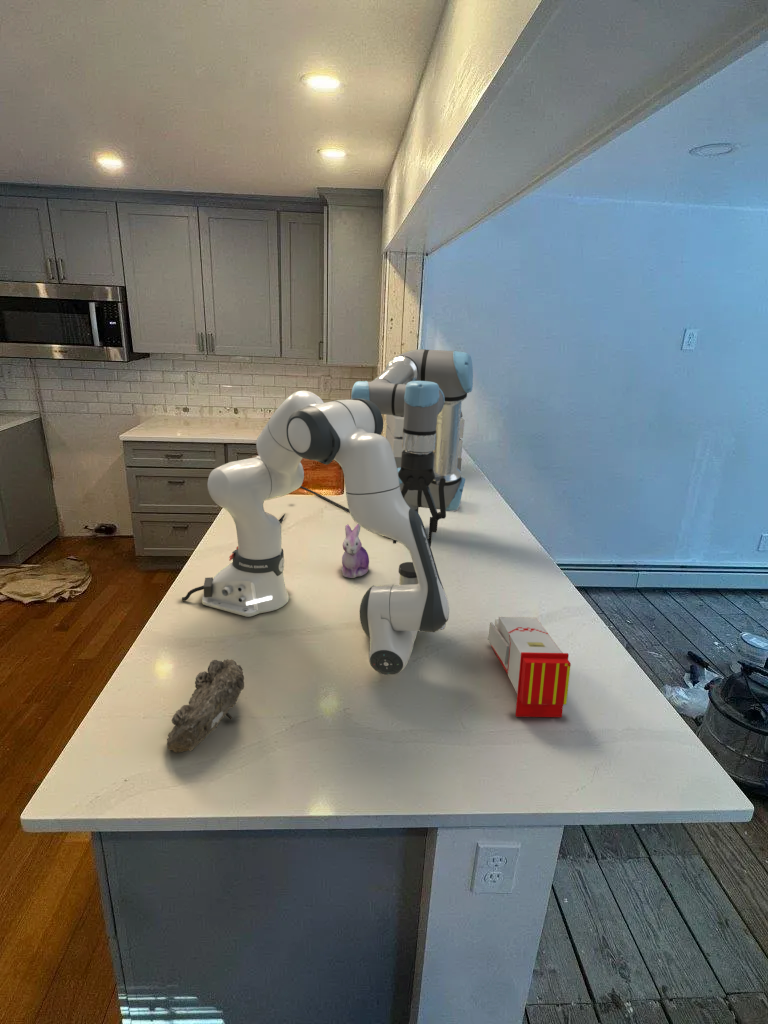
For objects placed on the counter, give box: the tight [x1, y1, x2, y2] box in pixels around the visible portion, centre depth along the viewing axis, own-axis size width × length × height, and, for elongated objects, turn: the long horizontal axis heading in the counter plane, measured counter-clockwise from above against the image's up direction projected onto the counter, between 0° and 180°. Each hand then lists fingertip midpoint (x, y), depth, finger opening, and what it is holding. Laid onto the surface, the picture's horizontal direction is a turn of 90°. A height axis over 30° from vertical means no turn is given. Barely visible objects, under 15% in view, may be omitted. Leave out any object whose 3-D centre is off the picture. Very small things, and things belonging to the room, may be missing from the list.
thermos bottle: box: [398, 574, 419, 585], centre depth 142 cm, size 5×5×15 cm
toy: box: [487, 616, 572, 718], centre depth 123 cm, size 12×13×30 cm
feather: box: [278, 513, 286, 523], centre depth 210 cm, size 2×28×2 cm
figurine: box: [341, 523, 370, 579], centre depth 167 cm, size 9×10×15 cm
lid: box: [398, 561, 417, 578], centre depth 140 cm, size 6×6×2 cm
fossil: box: [166, 658, 245, 754], centre depth 106 cm, size 22×10×15 cm
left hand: (409, 596), depth 143 cm, fingers closed on thermos bottle, 5 cm apart
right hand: (412, 542), depth 137 cm, fingers open, 8 cm apart
